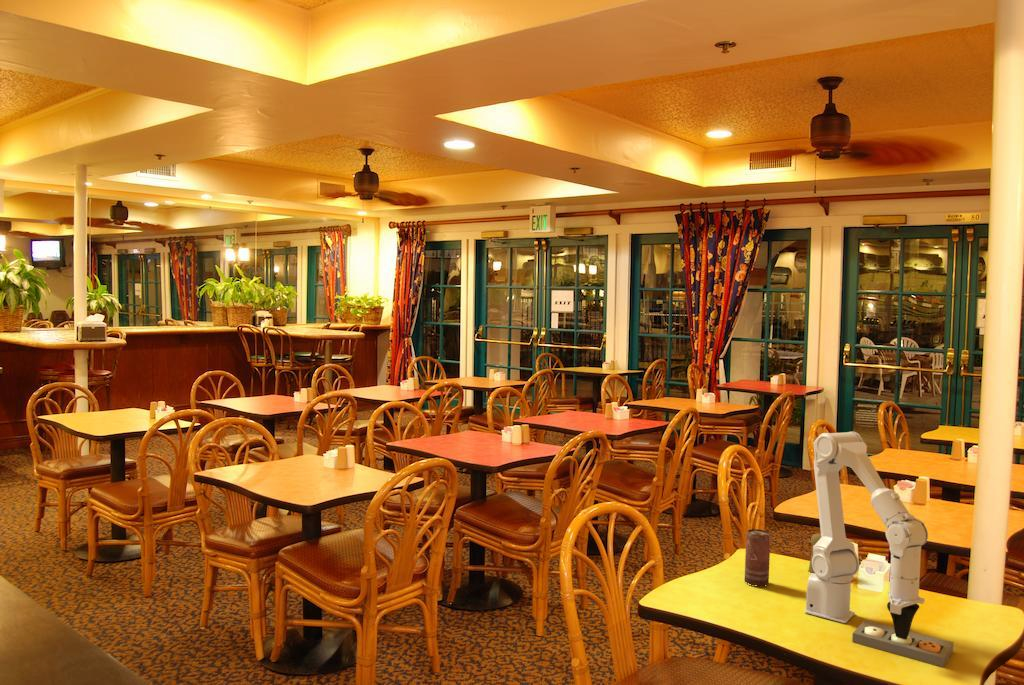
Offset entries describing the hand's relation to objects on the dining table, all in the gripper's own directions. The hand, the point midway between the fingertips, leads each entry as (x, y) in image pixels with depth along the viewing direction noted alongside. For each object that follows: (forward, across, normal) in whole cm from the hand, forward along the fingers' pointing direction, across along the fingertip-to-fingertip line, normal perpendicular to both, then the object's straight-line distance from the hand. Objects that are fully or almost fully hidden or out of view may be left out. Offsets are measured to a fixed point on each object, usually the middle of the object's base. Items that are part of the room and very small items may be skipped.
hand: (901, 636), depth 169 cm
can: (+3, +17, +39) cm, 43 cm away
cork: (+3, +37, +29) cm, 47 cm away
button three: (+2, 0, -6) cm, 6 cm away
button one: (+2, 0, +6) cm, 6 cm away
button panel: (+2, +1, 0) cm, 3 cm away
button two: (+2, 0, 0) cm, 2 cm away
